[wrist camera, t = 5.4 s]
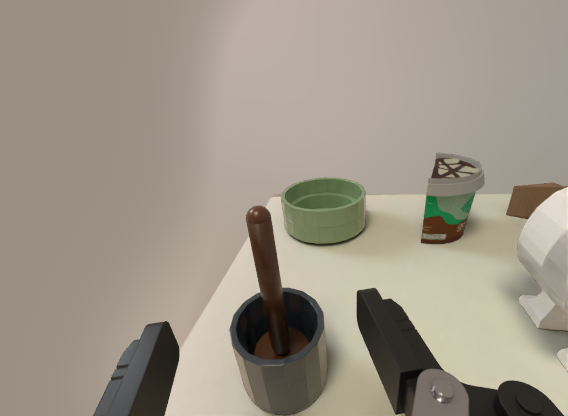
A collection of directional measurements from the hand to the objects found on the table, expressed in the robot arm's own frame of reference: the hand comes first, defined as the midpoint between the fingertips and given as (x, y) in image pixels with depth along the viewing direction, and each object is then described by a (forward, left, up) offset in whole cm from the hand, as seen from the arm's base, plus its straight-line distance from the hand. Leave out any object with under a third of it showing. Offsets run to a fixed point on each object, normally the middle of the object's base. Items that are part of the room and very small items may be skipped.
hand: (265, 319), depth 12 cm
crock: (-1, +7, -14) cm, 16 cm away
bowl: (+4, +32, -14) cm, 35 cm away
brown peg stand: (-1, +7, -14) cm, 15 cm away
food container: (+22, +28, -14) cm, 38 cm away
